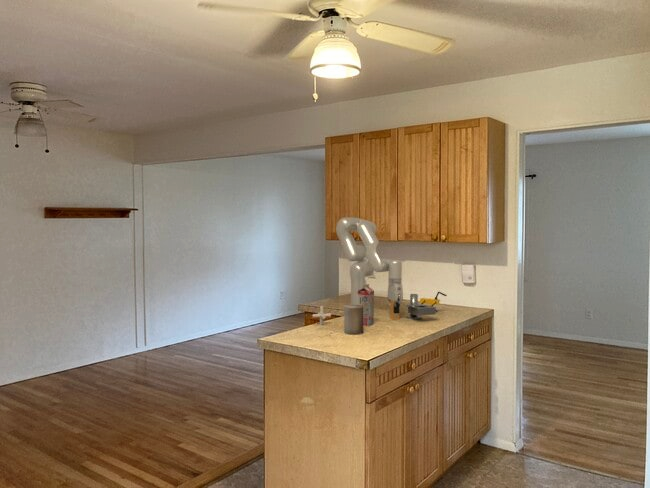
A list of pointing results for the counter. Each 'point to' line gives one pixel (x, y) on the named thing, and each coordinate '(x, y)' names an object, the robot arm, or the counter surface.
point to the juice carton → (367, 304)
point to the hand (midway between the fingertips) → (394, 312)
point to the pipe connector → (321, 315)
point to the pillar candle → (353, 319)
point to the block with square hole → (418, 308)
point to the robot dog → (431, 300)
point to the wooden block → (392, 314)
